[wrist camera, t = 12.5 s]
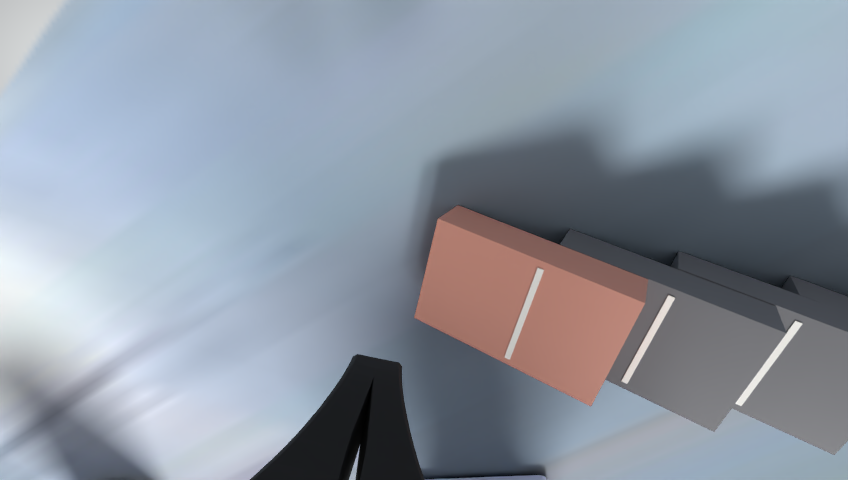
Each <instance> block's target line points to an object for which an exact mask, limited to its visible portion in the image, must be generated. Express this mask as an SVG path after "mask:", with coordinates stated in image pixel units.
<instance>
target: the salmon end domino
mask: <svg viewBox="0 0 848 480" xmlns="http://www.w3.org/2000/svg"><path fill="white" fill-rule="evenodd" d="M647 285H648V279H646V278H643V277H641V276H638V275H636V274H633V273H630V272H628V271H625V270H623V269H620V268H618V267H615V266H613V265H610V264H607V263H605V262H602V261H600V260H597V259H595V258H592V257H590V256H587V255H584V254H582V253H579V252H577V251H574V250H572V249H569V248H567V247H564V246H561V245H559V244H556V243H554V242H551V241H549V240H546V239H544V238H541V237H538V236H536V235H533V234H531V233H528V232H526V231H523V230H520V229H518V228H515V227H513V226H510V225H508V224H505V223H503V222H500V221H497V220H495V219H492V218H490V217H487V216H485V215H482V214H480V213H477V212H474V211H472V210H469V209H467V208H464V207H462V206H459V205H457V206H456V207H454V208H453V209H451V210H450V211H448V212H447V213H445V214H444V215H442V216H441V217H439V218H438V220H437V224H436V228H435V233H434V237H433V241H432V245H431V249H430V254H429V258H428V262H427V266H426V270H425V274H424V279H423V283H422V287H421V291H420V295H419V300H418V304H417V308H416V312H415V316H414V318H416V319H418V320H420V321H422V322H424V323H425V324H427V325H429V326H431V327H433V328H435V329H437V330H439V331H441V332H443V333H445V334H447V335H449V336H451V337H453V338H455V339H457V340H459V341H461V342H463V343H465V344H467V345H469V346H471V347H473V348H475V349H477V350H479V351H481V352H483V353H485V354H487V355H489V356H491V357H493V358H495V359H497V360H499V361H501V362H503V363H505V364H507V365H509V366H511V367H513V368H515V369H517V370H519V371H521V372H523V373H525V374H527V375H529V376H531V377H533V378H535V379H537V380H539V381H541V382H543V383H545V384H547V385H549V386H551V387H553V388H555V389H557V390H559V391H561V392H563V393H565V394H567V395H569V396H571V397H573V398H575V399H577V400H579V401H581V402H583V403H585V404H587V405H589V406H591V405H592V403H593V402H594V400H595V398H596V396H597V394H598V392H599V390H600V388H601V386H602V384H603V383H604V381H605V379H606V377H607V375H608V373H609V371H610V369H611V367H612V365H613V364H614V362H615V360H616V358H617V356H618V354H619V352H620V350H621V348H622V346H623V345H624V343H625V341H626V339H627V337H628V335H629V333H630V331H631V329H632V327H633V326H634V324H635V322H636V320H637V318H638V316H639V314H640V312H641V310H642V308H643V306H644V305H645V301H646V293H647Z"/></svg>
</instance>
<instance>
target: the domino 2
mask: <svg viewBox="0 0 848 480" xmlns="http://www.w3.org/2000/svg"><path fill="white" fill-rule="evenodd" d="M670 267H673V268H675V269H678V270H681V271H683V272H686V273H688V274H691V275H694V276H696V277H699V278H702V279H704V280H707V281H710V282H712V283H715V284H718V285H720V286H723V287H725V288H728V289H731V290H733V291H736V292H739V293H741V294H744V295H747V296H749V297H752V298H755V299H757V300H760V301H763V302H765V303H768V304H770V305H773V306H776V307H777V310H778V312H779V315H780V317H781V320H782V323H783V325H784V328H785V330H786V333H787V334H786V335H785V336H784V338H783V339H782V340H781V342H780V343H779V344H778V346H777V347H776V349H775V350H774V351H773V353H772V354H771V355H770V357H769V358H768V359H767V361H766V362H765V364H764V365H763V366H762V368H761V369H760V370H759V372H758V373H757V374H756V376H755V377H754V379H753V380H752V381H751V383H750V384H749V385H748V387H747V388H746V389H745V391H744V392H743V394H742V395H741V396H740V398H739V399H738V400H737V402H736V403H735V404H734V406H733V407H732V408H733V409H735V410H737V411H739V412H741V413H744V414H746V415H748V416H750V417H752V418H755V419H757V420H759V421H761V422H763V423H765V424H768V425H770V426H772V427H774V428H776V429H779V430H781V431H783V432H785V433H787V434H789V435H792V436H794V437H796V438H798V439H800V440H803V441H805V442H807V443H809V444H811V445H813V446H816V447H818V448H820V449H822V450H824V451H827V452H829V453H831V454H833V455H835V454H836V453H837V452H838V451H839V450H840V448H841V447H842V446H843V445H844V444H845V443H846V442H847V441H848V313H847V312H845V311H842V310H839V309H836V308H834V307H831V306H828V305H825V304H823V303H820V302H817V301H814V300H812V299H809V298H806V297H803V296H801V295H798V294H795V293H793V292H790V291H787V290H784V289H782V288H779V287H776V286H773V285H771V284H768V283H765V282H762V281H760V280H757V279H754V278H751V277H749V276H746V275H743V274H740V273H738V272H735V271H732V270H729V269H727V268H724V267H721V266H718V265H716V264H713V263H710V262H707V261H705V260H702V259H699V258H697V257H694V256H691V255H688V254H686V253H683V252H680V251H678V253H677V255H676V257H675V259H674V261H673V263H672V264H671V266H670Z"/></svg>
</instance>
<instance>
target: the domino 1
mask: <svg viewBox="0 0 848 480" xmlns="http://www.w3.org/2000/svg"><path fill="white" fill-rule="evenodd" d="M560 245H561V246H564V247H567V248H569V249H572V250H574V251H577V252H579V253H582V254H584V255H587V256H590V257H592V258H595V259H597V260H600V261H602V262H605V263H607V264H610V265H613V266H615V267H618V268H620V269H623V270H625V271H628V272H630V273H633V274H636V275H638V276H641V277H643V278H646V279H648V285H647V293H646V301H645V305H644V306H643V308H642V310H641V312H640V314H639V316H638V318H637V320H636V322H635V324H634V326H633V327H632V329H631V331H630V333H629V335H628V337H627V339H626V341H625V343H624V345H623V346H622V348H621V350H620V352H619V354H618V356H617V358H616V360H615V362H614V364H613V365H612V367H611V369H610V371H609V373H608V375H607V377H606V379H605V380H607V381H609V382H611V383H614V384H616V385H618V386H620V387H622V388H624V389H626V390H628V391H630V392H632V393H634V394H636V395H639V396H641V397H643V398H645V399H647V400H649V401H651V402H653V403H655V404H657V405H659V406H661V407H664V408H666V409H668V410H670V411H672V412H674V413H676V414H678V415H680V416H682V417H684V418H686V419H689V420H691V421H693V422H695V423H697V424H699V425H701V426H703V427H705V428H707V429H709V430H711V431H713V432H715V430H716V429H717V428H718V426H719V425H720V424H721V422H722V421H723V420H724V418H725V417H726V415H727V414H728V413H729V411H730V410H731V409H732V407H733V406H734V404H735V403H736V402H737V400H738V399H739V398H740V396H741V395H742V394H743V392H744V391H745V389H746V388H747V387H748V385H749V384H750V383H751V381H752V380H753V379H754V377H755V376H756V374H757V373H758V372H759V370H760V369H761V368H762V366H763V365H764V364H765V362H766V361H767V359H768V358H769V357H770V355H771V354H772V353H773V351H774V350H775V349H776V347H777V346H778V344H779V343H780V342H781V340H782V339H783V338H784V336H785V335H786V334H787V333H786V330H785V328H784V325H783V323H782V320H781V317H780V315H779V312H778V310H777V307H776V306H773V305H770V304H768V303H765V302H763V301H760V300H757V299H755V298H752V297H749V296H747V295H744V294H741V293H739V292H736V291H733V290H731V289H728V288H725V287H723V286H720V285H718V284H715V283H712V282H710V281H707V280H704V279H702V278H699V277H696V276H694V275H691V274H688V273H686V272H683V271H681V270H678V269H675V268H673V267H670V266H667V265H665V264H662V263H659V262H657V261H654V260H651V259H649V258H646V257H643V256H641V255H638V254H636V253H633V252H630V251H628V250H625V249H622V248H620V247H617V246H614V245H612V244H609V243H606V242H604V241H601V240H599V239H596V238H593V237H591V236H588V235H585V234H583V233H580V232H577V231H575V230H572V229H569V231H568V233H567V234H566V236H565V237H564V239H563V240H562V242H561V243H560Z"/></svg>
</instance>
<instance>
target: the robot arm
mask: <svg viewBox="0 0 848 480" xmlns="http://www.w3.org/2000/svg"><path fill="white" fill-rule="evenodd" d="M359 446H360V450H359V458H358V466H357V473H356V480H547V478H546V477H545V476H542V475H525V476H500V477H474V478H449V479H424V477H423V474H422V471H421V468H420V465H419V462H418V459H417V455H416V452H415V448H414V445H413V441H412V437H411V433H410V428H409V424H408V419H407V414H406V409H405V403H404V396H403V388H402V366H401V365H400V363H398V362H393V361H388V360H383V359H378V358H373V357H368V356H363V355H358V354H357V355H355V356H353V358H352V360H351V362H350V364H349V366H348V368H347V369H346V371H345V373H344V374H343V376H342V378H341V379H340V381H339V382H338V383H337V385H336V386H335V388H334V389H333V391H332V392H331V393H330V395H329V396H328V397H327V399H326V400H325V401H324V403H323V404H322V405H321V407H320V408H319V409H318V410H317V412H316V413H315V414H314V415H313V416H312V417H311V419H310V420H309V421H308V422H307V423H306V424H305V426H304V427H303V428H302V429H301V430H300V431H299V432H298V434H297V435H296V436H295V437H294V438H293V439H292V440H291V441H290V442H289V443H288V444H287V445H286V446H285V447H284V448H283V449H282V450H281V451H280V452H279V453H278V454H277V455H276V456H275V457H274V458H273V459H272V460H271V461H270V462H269V463H268V464H267V465H265V466H264V467H263V468H262V469H261V470H260V471H259V472H258V473H257V474H256V475H255V476H253V477H252V478H251V479H250V480H349V477H350V474H351V471H352V468H353V465H354V462H355V459H356V455H357V452H358V449H359Z"/></svg>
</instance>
